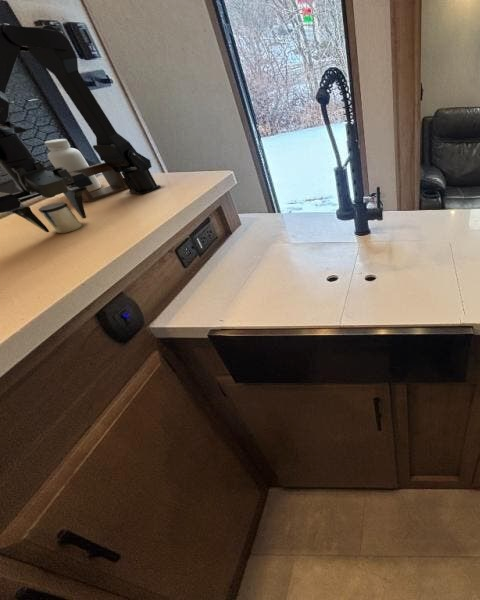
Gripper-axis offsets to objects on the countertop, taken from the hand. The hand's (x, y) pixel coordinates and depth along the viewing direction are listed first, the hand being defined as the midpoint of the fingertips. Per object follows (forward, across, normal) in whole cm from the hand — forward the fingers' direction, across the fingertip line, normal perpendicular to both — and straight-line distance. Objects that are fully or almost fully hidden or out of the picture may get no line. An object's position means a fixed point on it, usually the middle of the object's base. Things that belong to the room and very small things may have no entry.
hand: (66, 224), depth 80 cm
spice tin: (+1, 0, 0) cm, 1 cm away
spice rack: (+1, +20, +20) cm, 28 cm away
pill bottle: (+1, +21, +30) cm, 37 cm away
